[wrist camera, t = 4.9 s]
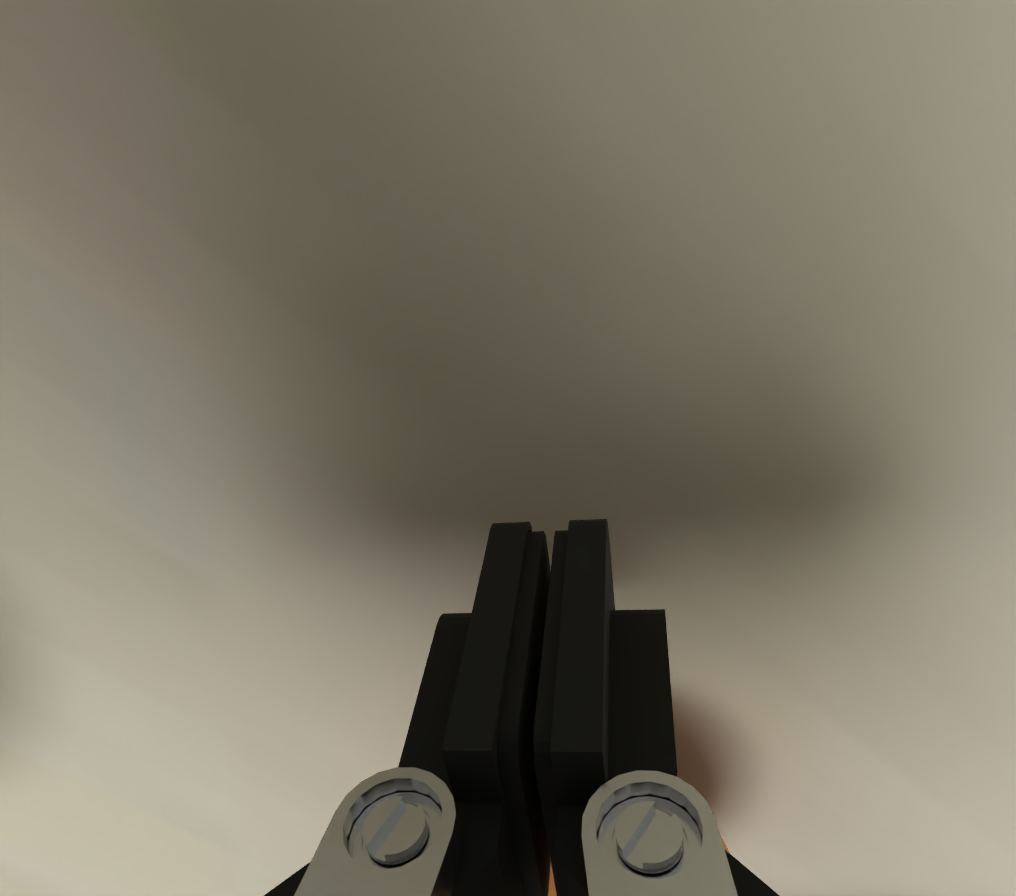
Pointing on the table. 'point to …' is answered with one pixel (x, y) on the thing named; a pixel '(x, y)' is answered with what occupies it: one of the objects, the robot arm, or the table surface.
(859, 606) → the table surface
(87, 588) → the table surface
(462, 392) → the table surface
